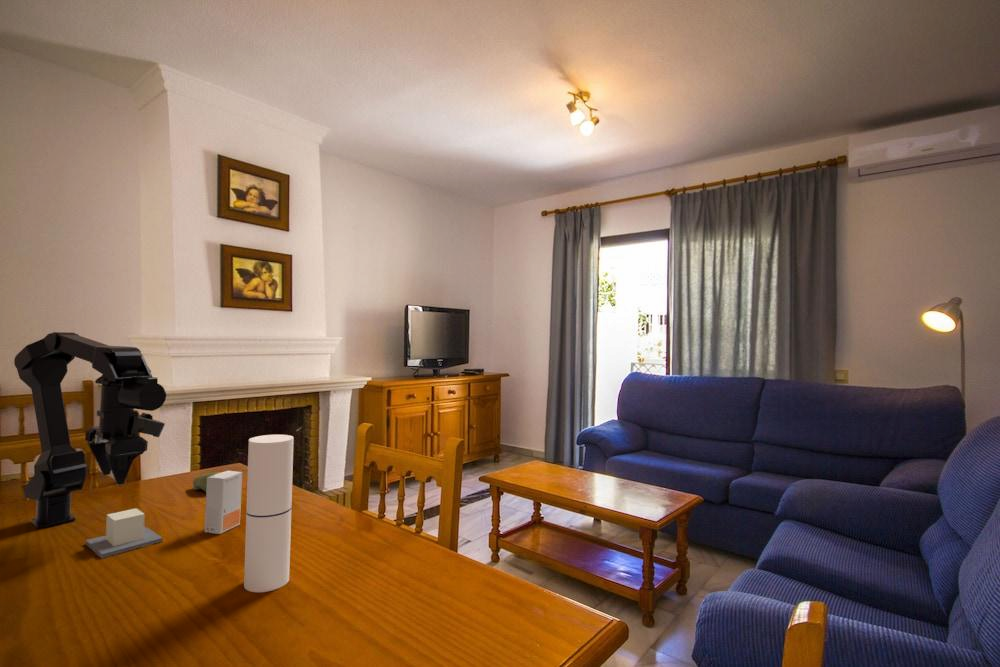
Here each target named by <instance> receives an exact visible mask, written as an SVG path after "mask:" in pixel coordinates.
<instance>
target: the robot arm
mask: <svg viewBox="0 0 1000 667" xmlns="http://www.w3.org/2000/svg"><path fill="white" fill-rule="evenodd" d="M75 358H78V359H81V360H82V361H83V360H84V361H85V362H86V361H87V362H88V363H90V364H91V367H92V369H94V371H97V372H98V373H100V374H101V375H100V376H98V378H97V379H95V381H94V382H95V384H98V385H100V386H101V387H100V389H101V390H100V403H99V404H100V405H99V406H100V407H99V410H98V409H97V410H96V416H97V417H99V422H98V424H99V425H95V426H90V427H89V428H88V429H87V430H86V431H85V438H84V439H85V441H87V445H88V448H89V449H90V451H91V453H92V454H93V457H94V459H95V461H96V463H97V465H98V466H99V469H100V471H101V473H102V475H104V476H109V475H110V474H111V473H112V475H113V477H114V478H113V479H114V480H115V483H116V485H118V486H119V485H124V484H125V481H126V479H127V477H128V474H129V471H130V469H131V466H132V464H133V462H134V461H135V459H136V458H138V457H139V456H140V455H143V454H144V453H145V452H147V451H148V440H146V439H145V438H144V437H142V436H140V435H139V433H141V434H143V435H144V434H145V435H149V436H150V435H151V436H152V437H155V438H159V437H160V436H161V434H162V432H163V430H164V427H165V426H166V423H165V422H162V421H160V420H156V419H153V414H151V413H148V411H149V412H152V411H153V412H154V411H155V410H159V409H160V408H161V407H162V406H163V405H164V404H165V401H166V398H167V392H166V390H165V388H164V386H163V385H161V384H160V383H158V379H159V378H158V377H154V376H153V374H152V370H151V369H150V367H149V366H148V364H147V361H146V358H144V355H143V354H142V351H141V349H139V348H138V347H134V346H125V345H124V346H123V345H121V346H120V345H108V344H105V343H104V342H99V341H96V340H93V339H90V338H87V337H84V336H82V335H79V334H78V333H76V332H60V331H58V332H57V331H56V332H55V331H54V332H50V333H48V334H46V336H44V337H43V338H41V339H39V340H36V341H34V342H32V343H29V344H27V345H25V346H24V347H23V348H22V349H21V350H20V351H19V352H18V353H16V355H15V356H14V359H13V360H14V361H13V362H14V366H15V368H16V370H17V373H18V374H17V375H18V376H19V379H20V380H21V381H22V382H23V384H25V385H27V386H28V387H29V388H30V390H31V394H32V401H33V406H34V411H35V418H36V425H37V430H38V436H39V442H40V443H39V444H40V449H41V453H40V454H39V457H38V458H37V460H36V461H35V464H34V465H33V469H34V470H33V472H34V474H33V476H32V477H31V479H30V480H29V481H28V482H27V483H26V485H25V486H24V487H23V494H24V498H25V499H30V500H35V501H36V510H35V514H36V515H35V518H31V519H30V522H31V524H32V525H33V526H34V527H35V528H36V529H41V528H45V527H46V528H47V527H50V526H54V525H60V524H64V523H69V522H74V521H76V520H77V518H76V516H74V515H73V514H72V513H71V509H72V506H71V505H72V492H75V491H80V490H81V491H82V490H83V487H84V485H85V480H86V477H87V475H88V465H87V463H86V456H85V452H84V450H82V449H80V450H77V449H76V448H75V447H74V446H73V445H72V444H71V437H70V433H69V432H70V431H69V425H68V421H67V420H68V418H67V413H66V409H65V402H64V398H63V392H62V384H61V383H62V382H63V380H64V379H65V377H66V375H67V373H68V366H69V364H70V363H72V361H73V360H74V359H75ZM137 410H141V411H147V412H141V413H140V414H139V412H138V411H137Z"/></svg>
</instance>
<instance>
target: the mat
mask: <svg viewBox="0 0 1000 667" xmlns="http://www.w3.org/2000/svg"><path fill="white" fill-rule="evenodd" d="M158 542H160V543H163V537H162V536H160V535H159V534H158V533H156V532H154V531H153V530H152V529H150V528H149V527H147V526H145V525H144V539H140V540H136V541H132V542H128V543H124V544H121V545H117V546H113V545H112V544H111V543H109V542H108V541H107V540H106V534H105V535H102V536H97V537H94V538H89V539H86V540H85V545H86V546H87V547H88V548H89V549H90V550H92V551H93V552H94V553H95V554H96V555H97V557H99V558H100V559H104V558H109V557H113V556H116V555H119V553H120V554H123V553H126V552H125V551H127V552H129V551H128V550H131V551H133V550H132V549H134V550H136V549H135V548H138V549H140V548H139V547H142V548H144V547H143V546H145V547H148V546H147V545H149V546H151V545H150V544H153V545H155V544H154V543H156V544H159V543H158ZM122 552H123V553H122ZM112 555H113V556H112Z"/></svg>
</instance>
